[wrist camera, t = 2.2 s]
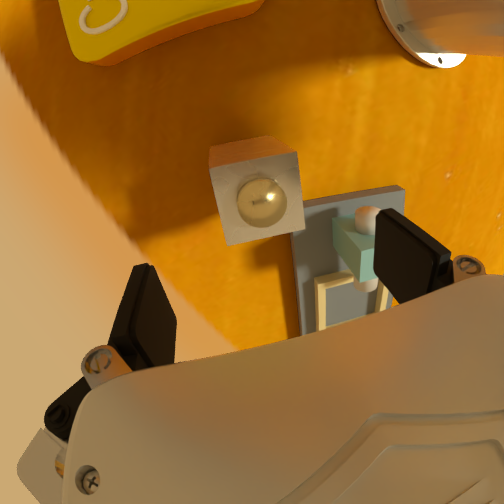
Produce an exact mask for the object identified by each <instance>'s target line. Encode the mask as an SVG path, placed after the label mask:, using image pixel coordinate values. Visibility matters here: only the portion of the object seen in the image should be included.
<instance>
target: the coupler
mask: <svg viewBox="0 0 504 504" xmlns="http://www.w3.org/2000/svg"><path fill="white" fill-rule="evenodd" d="M209 173H210V177H211V181H212V185H213V190H214V194H215V198H216V202H217V206H218V210H219V214H220V218H221V222H222V227H223V231H224V235H225V239H226V243H227V246H230V245H234V244H239V243H243V242H248V241H253V240H257V239H262V238H266V237H271V236H276V235H280V234H285V233H290V232H294V231H299V230H304V229H305V220H304V210H303V200H302V191H301V182H300V174H299V166H298V158H297V151H295V150H293V149H292V148H290V147H289V146H287V145H285V144H284V143H282V142H281V141H279V140H277V139H276V138H274V137H272V136H271V135H266V136H260V137H255V138H249V139H244V140H239V141H234V142H229V143H224V144H220V145H215V146H211V147H210V153H209Z"/></svg>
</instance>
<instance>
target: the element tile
mask: <svg viewBox="0 0 504 504" xmlns="http://www.w3.org/2000/svg"><path fill="white" fill-rule="evenodd" d="M58 2H59V6H60V11H61V15H62V19H63V23H64V26H65V30H66V34H67V37H68V41H69V44H70V48H71V50H72V52H73V54H74V56H75V57H76V58H77V59H78V60H79V61H82V62H86V63H90V64H95V65H99V66H103V67H106V66H113V65H116V64H119V63H120V62H122V61H124V60H126V59H128V58H130V57H133V56H135V55H137V54H139V53H141V52H143V51H145V50H148V49H150V48H152V47H154V46H157V45H159V44H162V43H164V42H167V41H169V40H172V39H174V38H177V37H180V36H182V35H185V34H188V33H191V32H194V31H197V30H200V29H203V28H206V27H209V26H213V25H216V24H220V23H223V22H227V21H231V20H235V19H239V18H243V17H246V16H249V15H251V14H253V13H255V12H256V11H258V10H259V8H260V7H261V5H262V4H263V2H264V0H58Z"/></svg>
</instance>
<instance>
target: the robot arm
mask: <svg viewBox="0 0 504 504" xmlns="http://www.w3.org/2000/svg"><path fill="white" fill-rule="evenodd" d="M376 1H377V4H378V8H379V11H380V13H381V15H382V18H383V20H384V22H385V23H386V25H387V27H388V29H389V30H390V32H391V33H392V34H393V36H394V37H395V39H396V40H397V41H398V42H399V43H400V44H401V46H402V47H403V48H404V49H405V50H406V51H407V52H409V53H410V54H411V55H412V56H413V57H415V58H416V59H418V60H419V61H421V62H422V63H424V64H427V65H429V66H432V67H436V68H451V67H454V66H456V65H458V64H459V63H461V62H462V61H463V59H464V57H465V56H466V54H467V55H486V56H498V57H504V0H376ZM450 256H451V251H449V250H448V249H447V248H446V247H444V246H443V245H442V244H441V243H439V242H438V241H437V240H436V239H434V238H433V237H432V236H430V235H429V234H428V233H426V232H425V231H424V230H422V229H421V228H420V227H418V226H417V225H416V224H414V223H413V222H412V221H410V220H409V219H407V218H406V217H405V216H403V215H402V214H400V213H399V212H397V211H396V210H395V209H393V208H388V209H383V210H380V211H379V213H378V214H377V215H376V218H375V243H374V259H373V270H374V273H375V275H376V276H377V277H378V278H379V280H380V281H381V282H382V283H383V284H384V286H385V287H386V288H387V289H388V290H389V292H390V293H391V294H392V295H393V297H394V298H395V299H396V300H397V301H398V303H399V305H397V306H394V307H391V308H388V309H386V310H383V311H380V312H377V313H374V314H371V315H368V316H365V317H362V318H359V319H356V320H353V321H350V322H347V323H344V324H340V325H337V326H334V327H330V328H327V329H324V330H320V331H317V332H313V333H310V334H306V335H302V336H299V337H295V338H291V339H287V340H283V341H279V342H275V343H271V344H267V345H263V346H258V347H254V348H250V349H245V350H241V351H236V352H231V353H227V354H222V355H217V356H212V357H206V358H201V359H195V360H190V361H184V362H178V363H174V358H175V357H174V356H175V341H176V326H177V320H176V316H175V314H174V311H173V309H172V307H171V305H170V303H169V300H168V298H167V296H166V293H165V291H164V289H163V287H162V284H161V282H160V280H159V277H158V275H157V272H156V270H155V268H154V266H153V265H151V266H150V265H149V264H148V263H144V264H140V265H136V266H134V267H133V269H132V272H131V275H130V278H129V280H128V283H127V286H126V289H125V292H124V295H123V297H122V300H121V303H120V305H119V309H118V312H117V314H116V318H115V321H114V324H113V328H112V331H111V334H110V337H109V341H108V344H107V345H101V346H98V347H95V348H94V349H92V350H91V351H89V352H88V353H87V354H86V356H85V357H84V358H83V361H82V363H81V370H82V373H83V375H84V376H83V377H82V378H81V379H80V380H79V381H78V382H76V383H75V384H74V385H73V386H71V387H70V388H69V389H68V390H67V391H66V392H64V393H63V394H62V395H61V396H60V397H59V398H57V399H56V400H55V401H54V402H53V403H52V404H51V405H50V406H49V407H48V409H47V410H46V412H45V416H44V423H45V426H46V427H45V429H44V430H43V429H41V428H40V430H39V431H38V432H37V434H36V436H35V437H34V438H33V440H32V441H31V443H30V444H29V446H28V447H27V449H26V450H25V452H24V453H23V455H22V457H21V458H20V460H19V462H18V464H17V473H18V476H19V478H20V480H21V481H22V483H23V484H24V485H25V486H26V487H27V489H28V490H29V491H30V492H31V493H32V495H33V496H34V497H35V498H36V499H37V500H38V501H39V502H40V504H504V276H502V275H487V274H486V272H485V268H484V265H483V264H482V263H481V262H480V261H479V260H478V259H476V258H474V257H472V256H468V255H460V256H457V257H455V258H454V260H453V261H452V260H451V259H450Z"/></svg>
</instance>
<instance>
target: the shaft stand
mask: <svg viewBox="0 0 504 504" xmlns="http://www.w3.org/2000/svg"><path fill="white" fill-rule="evenodd" d="M404 201H405V190H404V189H403V188H401V187H399V186H398V185H394V186H388V187H381V188H375V189H369V190H363V191H357V192H351V193H345V194H340V195H334V196H328V197H323V198H318V199H312V200H307V201H303V210H304V220H305V229H304V230H299V231H294V232H290V240H291V249H292V257H293V267H294V276H295V285H296V295H297V306H298V317H299V328H300V336H302V335H306V334H310V333H313V332H317V331H320V330H324V329H327V328H330V327H334V326H337V325H340V324H344V323H347V322H350V321H353V320H356V319H359V318H362V317H365V316H368V315H371V314H374V313H377V312H380V311H383V310H386V309H388V308H391V304H392V299H393V295H392V294H391V293H390V292H389V290H388V289H387V288H386V287H385V286H384V284H383V283H382V282H381V281H380V280H379V278H378V277H377V276H376V275H375V273H374V270H373V259H374V243H375V218H376V215H377V214H378V213H379V211H380V210H383V209H388V208H393V209H395V210H396V211H397V212H399V213H400V214H402V215H403V216H404Z"/></svg>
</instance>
